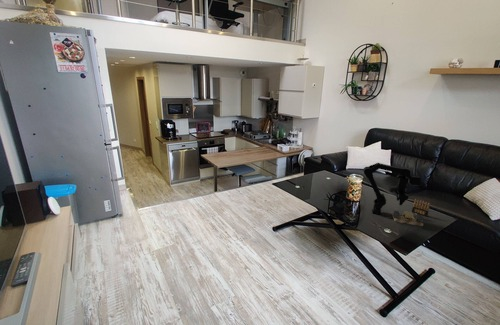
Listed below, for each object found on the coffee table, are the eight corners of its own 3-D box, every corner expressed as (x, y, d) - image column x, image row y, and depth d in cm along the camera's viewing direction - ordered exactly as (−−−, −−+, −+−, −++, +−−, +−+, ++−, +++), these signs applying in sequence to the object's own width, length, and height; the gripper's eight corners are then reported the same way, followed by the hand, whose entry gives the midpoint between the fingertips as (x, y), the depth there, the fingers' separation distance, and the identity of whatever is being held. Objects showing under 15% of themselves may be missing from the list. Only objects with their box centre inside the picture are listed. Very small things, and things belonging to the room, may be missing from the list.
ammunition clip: (411, 212, 196) (414, 198, 193) (412, 211, 197) (415, 197, 194) (427, 217, 188) (430, 203, 185) (427, 216, 190) (431, 202, 186)
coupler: (402, 216, 185) (403, 210, 184) (410, 218, 183) (412, 212, 182) (403, 219, 181) (405, 213, 179) (412, 221, 179) (413, 215, 177)
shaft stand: (394, 221, 181) (396, 214, 179) (392, 215, 190) (393, 209, 188) (422, 226, 175) (424, 219, 173) (418, 219, 184) (420, 213, 182)
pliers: (391, 238, 159) (364, 224, 175) (391, 239, 159) (364, 225, 175) (399, 234, 163) (372, 221, 180) (399, 235, 163) (372, 222, 180)
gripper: (388, 178, 194) (385, 196, 198) (392, 186, 177) (389, 206, 181) (404, 180, 190) (400, 198, 194) (410, 188, 173) (406, 208, 177)
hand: (398, 202), depth 187 cm, fingers open, 9 cm apart
